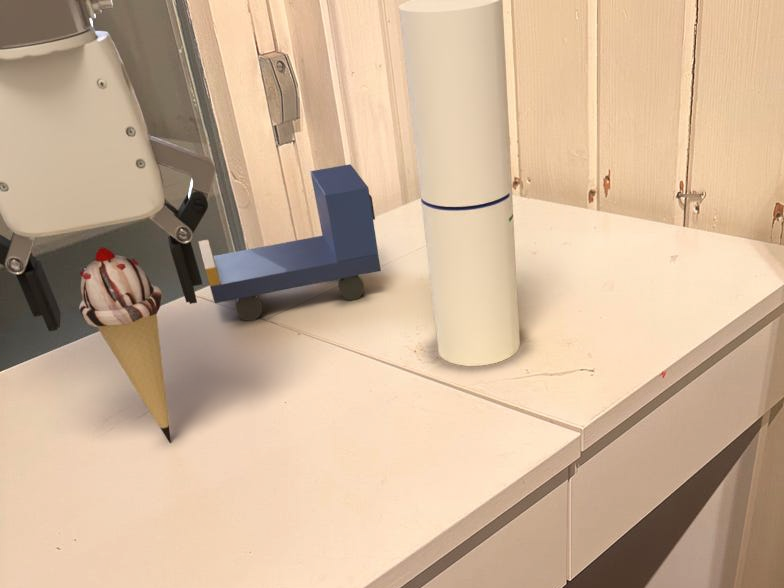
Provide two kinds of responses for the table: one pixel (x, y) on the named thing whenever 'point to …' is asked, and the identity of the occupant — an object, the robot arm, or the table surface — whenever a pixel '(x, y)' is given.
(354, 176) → the flatbed truck
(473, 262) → the cylindrical container
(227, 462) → the table surface
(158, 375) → the ice cream cone
